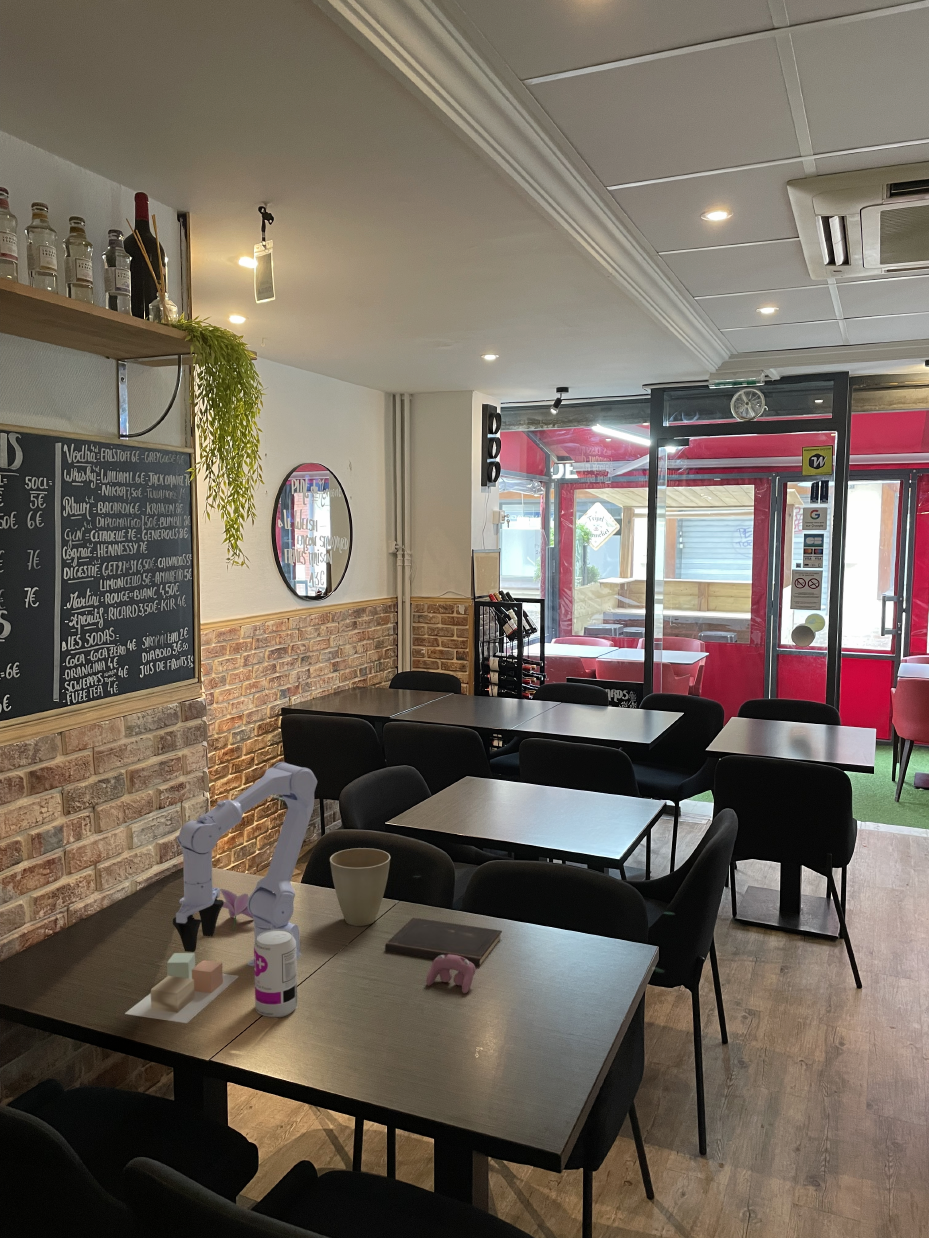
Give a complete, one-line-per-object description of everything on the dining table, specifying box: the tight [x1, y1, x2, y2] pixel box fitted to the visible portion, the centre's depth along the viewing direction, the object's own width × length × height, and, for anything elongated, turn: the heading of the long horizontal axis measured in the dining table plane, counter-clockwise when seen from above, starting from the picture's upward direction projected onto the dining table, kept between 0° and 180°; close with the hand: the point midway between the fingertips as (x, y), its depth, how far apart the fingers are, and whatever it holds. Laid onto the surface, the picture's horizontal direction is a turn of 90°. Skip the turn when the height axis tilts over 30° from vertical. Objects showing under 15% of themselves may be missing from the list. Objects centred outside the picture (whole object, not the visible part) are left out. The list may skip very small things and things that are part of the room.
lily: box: [220, 888, 253, 932], centre depth 220 cm, size 12×12×10 cm
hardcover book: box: [384, 917, 503, 968], centre depth 209 cm, size 16×23×2 cm
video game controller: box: [425, 954, 477, 994], centre depth 190 cm, size 10×5×7 cm, turn 65°
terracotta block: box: [192, 960, 224, 993], centre depth 188 cm, size 4×4×4 cm
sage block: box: [166, 952, 196, 979], centre depth 192 cm, size 4×4×4 cm
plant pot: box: [329, 847, 391, 927], centre depth 223 cm, size 15×15×16 cm
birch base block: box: [150, 976, 194, 1013], centre depth 181 cm, size 6×6×4 cm
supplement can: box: [253, 929, 298, 1019], centre depth 179 cm, size 8×8×15 cm
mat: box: [124, 973, 240, 1024], centre depth 185 cm, size 14×20×1 cm
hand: (199, 943), depth 187 cm, fingers open, 7 cm apart
